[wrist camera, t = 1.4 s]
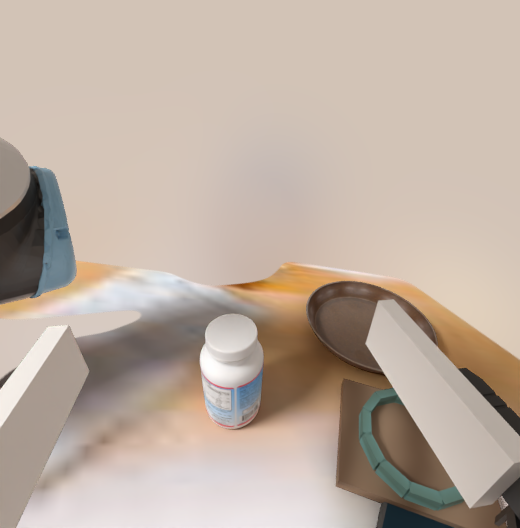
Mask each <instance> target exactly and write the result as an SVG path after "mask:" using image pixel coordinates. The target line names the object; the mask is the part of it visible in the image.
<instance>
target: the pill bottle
mask: <svg viewBox="0 0 520 528" xmlns="http://www.w3.org/2000/svg"><path fill="white" fill-rule="evenodd" d="M257 337H258V331H257V327H256V325H255V323H254V322H253V321H252V320H251V319H250V318H248V317H246V316H244V315H241V314H225V315H221V316H219V317H217V318H215V319H214V320H212V321H211V322H210V324H209V325H208V326H207V328H206V332H205V344H204V346H203V348H202V350H201V353H200V368H201V375H202V383H203V391H204V398H205V405H206V410H207V413H208V415H209V417H210V418H211V420H212V421H213V422H214V423H215V424H217V425H218V426H220V427H223V428H226V429H236V428H240V427H243V426H245V425H247V424H248V423H249V422H251V421H252V420H253V419H254V417H255V416H256V414H257V413H258V410H259V407H260V402H261V388H262V375H263V361H264V354H263V349H262V346H261V344H260V342H259V341H258V338H257Z"/></svg>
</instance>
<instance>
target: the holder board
mask: <svg viewBox="0 0 520 528" xmlns="http://www.w3.org/2000/svg"><path fill="white" fill-rule="evenodd" d="M336 487H339V488H342V489H344V490H347V491H350V492H352V493H355V494H358V495H360V496H363V497H366V498H368V499H371V500H374V501H376V502H379V503H383V502H387V503H390V504H392V505H395V506H398V507H400V508H403V509H406V510H408V511H411V512H414V513H417V514H419V515H422V516H425V517H427V518H430V519H433V520H435V521H438V522H441V523H443V524H446V525H449V526H451V527H454V528H507V526H506V523H505V522H504V523H503V524H502V525H500V526H497V525H495V517H496V516H497V515H498V514H499V513H500V512H501V508H500V505H499V502H498V500H496V501H495V502H494V503H493V504H491V505H486V506H481V507H476V508H471V509H470V508H469V507H468V505H467V504H466V502H465V500H464V499H463V497H462V496H461V494H460V492H459V491H458V489H457V488H456V486H455V485H454V483H453V481H452V480H451V478H450V477H449V475H448V473H447V472H446V470H445V469H444V467H443V466H442V464H441V462H440V461H439V459H438V458H437V456H436V454H435V453H434V451H433V450H432V448H431V447H430V445H429V443H428V442H427V440H426V439H425V437H424V435H423V434H422V432H421V431H420V429H419V428H418V426H417V424H416V423H415V421H414V420H413V418H412V417H411V415H410V413H409V412H408V410H407V409H406V407H405V405H404V404H403V402H402V401H401V399H400V398H399V396H398V394H397V393H396V391H395V390H394V388H390V389H385V390H382V389H378V388H375V387H371V386H368V385H364V384H361V383H357V382H354V381H350V380H347V379H344V380H343V382H342V388H341V405H340V422H339V439H338V456H337V473H336Z"/></svg>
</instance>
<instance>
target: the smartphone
mask: <svg viewBox="0 0 520 528" xmlns="http://www.w3.org/2000/svg"><path fill="white" fill-rule="evenodd" d="M376 528H454V527H451V526H449V525H446V524H443V523H441V522H438V521H435V520H433V519H430V518H427V517H425V516H422V515H419V514H417V513H414V512H411V511H408V510H406V509H403V508H400V507H398V506H395V505H392V504H390V503H387V502H383V503H382V504H381V508H380V512H379V516H378V523H377V527H376Z"/></svg>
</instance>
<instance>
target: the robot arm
mask: <svg viewBox="0 0 520 528" xmlns="http://www.w3.org/2000/svg"><path fill="white" fill-rule="evenodd" d="M68 230H69V228H68V224H67V218H66V214H65V209H64V205H63V201H62V197H61V194H60V190H59V186H58V183H57V179H56V177H55V174H54V173H53V172H52V171H51V170H49V169H46V168H39V167H37V166H33V167H29V166H28V164H27V162H26V161H25V159H24V158H23V156H22V155H21V154H20V152H19V151H18V150H17V149H16V148H15V147H14V146H13V145H11V144H10V143H8V142H7V141H5V140H4V139H1V138H0V305H1V304H5V303H9V302H13V301H18V300H22V299H26V298H36V297H38V296H40V295H41V294H42V293H46V292H49V291H52V290H56V289H59V288H62V287H65V286H67V285H69V284H70V283H71V282H72V281H73V280H74V278H75V276H76V272H77V270H76V261H75V255H74V250H73V246H72V241H71V237H70V234H69V231H68ZM366 345H367V347H368V349H369V350H370V352H371V353H372V355H373V356H374V358H375V360H376V361H377V363H378V364H379V366H380V367H381V369H382V371H383V372H384V374H385V375H386V377H387V379H388V380H389V382H390V383H391V385H392V386H393V388H394V390H395V391H396V393H397V394H398V396H399V398H400V399H401V401H402V402H403V404H404V405H405V407H406V409H407V410H408V412H409V413H410V415H411V417H412V418H413V420H414V421H415V423H416V424H417V426H418V428H419V429H420V431H421V432H422V434H423V435H424V437H425V439H426V440H427V442H428V443H429V445H430V447H431V448H432V450H433V451H434V453H435V454H436V456H437V458H438V459H439V461H440V462H441V464H442V466H443V467H444V469H445V470H446V472H447V473H448V475H449V477H450V478H451V480H452V481H453V483H454V485H455V486H456V488H457V489H458V491H459V492H460V494H461V496H462V497H463V499H464V500H465V502H466V504H467V505H468V507H469V508H470V509H471V508H476V507H481V506H486V505H491V504H493V503H494V502H495V501H496V500H497V499H498V498H499V497H500V496H501V495H502V496H503V498H504V499H505V501H506V502H507V503H508V506H507V507H506V508H505V509H504V510H502V511H501V512H500V513H499V514H498V515H497V516H496V517H495V525H497V526H500V525H502V524H503V523H504V522H505V521H506V520H507V525H508V526H507V528H520V418H519V417H518V416H517V414H516V413H515V412H514V411H513V410H512V409H511V408H510V407H509V408H508V407H507V404H506V403H505V402H504V401H503V400H502V399H501V398H500V397H499V396H496V394H495V392H494V391H493V390H492V389H491V388H490V387H489V386H488V385H487V384H486V383H485V382H484V381H483V380H482V379H481V378H480V377H478V376H477V375H475V374H474V373H472V372H471V371H469V370H468V369H466V368H461V369H457V368H456V366H455V365H454V364H453V363H452V362H451V361H450V360H449V359H448V358H447V357H446V356H445V355H444V353H443V352H442V351H441V350H440V349H439V348H438V347H437V346H436V345H435V344H434V343H433V342H432V340H431V339H430V338H429V337H428V336H427V335H426V334H425V333H424V332H423V331H422V330H421V328H420V327H419V326H418V325H417V324H416V323H415V322H414V321H413V320H412V319H411V318H410V317H409V315H408V314H407V313H406V312H405V311H404V310H403V309H402V308H401V307H400V306H399V305H398V304H397V302H396V301H395V300H394V299H392V300H380V301H378V303H377V307H376V310H375V313H374V317H373V320H372V323H371V327H370V330H369V334H368V337H367V340H366ZM88 374H89V369H88V367H87V365H86V362H85V360H84V358H83V356H82V353H81V351H80V349H79V347H78V344H77V342H76V340H75V338H74V335H73V333H72V331H71V329H70V326H69V325H62V326H49V327H47V328H46V330H45V331H44V332H43V334H42V335H41V336H40V338H39V339H38V340H37V342H36V343H35V344H34V345H33V347H32V348H31V349H30V351H29V352H28V353H27V355H26V356H25V357H24V359H23V360H22V361H21V363H20V364H19V365H18V367H17V368H16V369H15V371H14V372H13V373H12V375H11V376H10V377H9V379H8V380H7V381H6V383H5V384H4V385H3V387H2V388H1V389H0V528H16V526H17V524H18V522H19V520H20V518H21V516H22V514H23V512H24V509H25V507H26V505H27V503H28V501H29V499H30V497H31V495H32V493H33V490H34V488H35V486H36V484H37V482H38V480H39V478H40V476H41V473H42V471H43V469H44V467H45V465H46V463H47V461H48V459H49V456H50V454H51V452H52V450H53V448H54V446H55V444H56V442H57V439H58V437H59V435H60V433H61V431H62V429H63V427H64V425H65V422H66V420H67V418H68V416H69V414H70V412H71V410H72V408H73V405H74V403H75V401H76V399H77V397H78V395H79V393H80V391H81V388H82V386H83V384H84V382H85V380H86V378H87V376H88Z"/></svg>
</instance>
